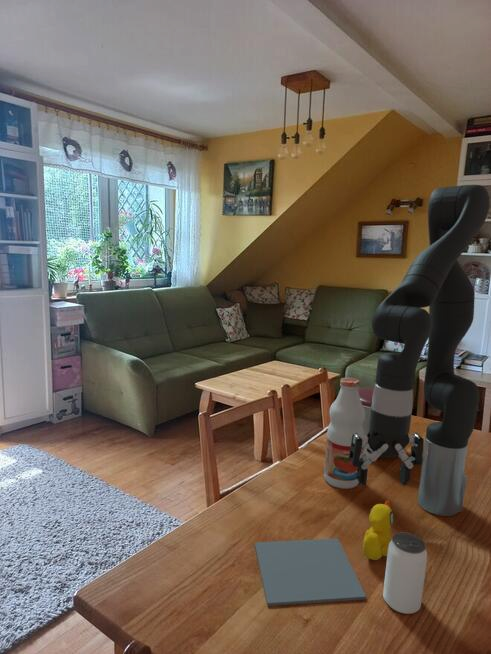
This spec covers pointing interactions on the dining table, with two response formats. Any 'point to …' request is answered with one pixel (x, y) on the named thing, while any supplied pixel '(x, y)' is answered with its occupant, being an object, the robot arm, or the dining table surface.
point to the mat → (306, 572)
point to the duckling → (378, 531)
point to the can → (405, 572)
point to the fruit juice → (343, 435)
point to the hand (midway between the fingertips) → (382, 483)
